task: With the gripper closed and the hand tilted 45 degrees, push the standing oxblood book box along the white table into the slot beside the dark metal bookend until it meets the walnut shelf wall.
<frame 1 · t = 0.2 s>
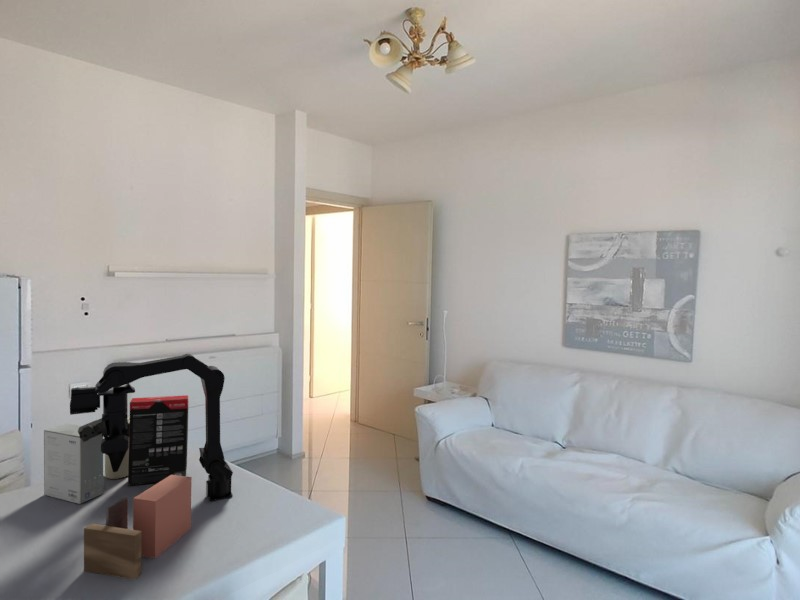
hand: (115, 465, 132), 14 cm above the table, tool pointing down, fingers open, 9 cm apart
travel mug: (119, 475, 159), on the table
shelf wall: (138, 561, 113), on the table
hard drive box: (73, 495, 144), on the table
book box: (163, 540, 122), on the table
bookend: (116, 560, 113), on the table
graphics card box: (158, 480, 156), on the table
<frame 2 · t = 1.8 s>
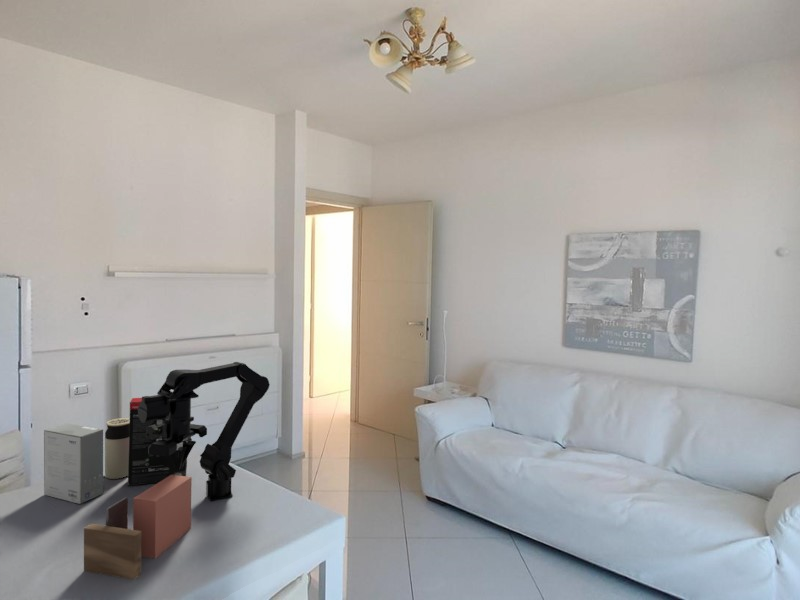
hand: (179, 468, 137), 12 cm above the table, tool pointing down, fingers closed
nothing on the table moved.
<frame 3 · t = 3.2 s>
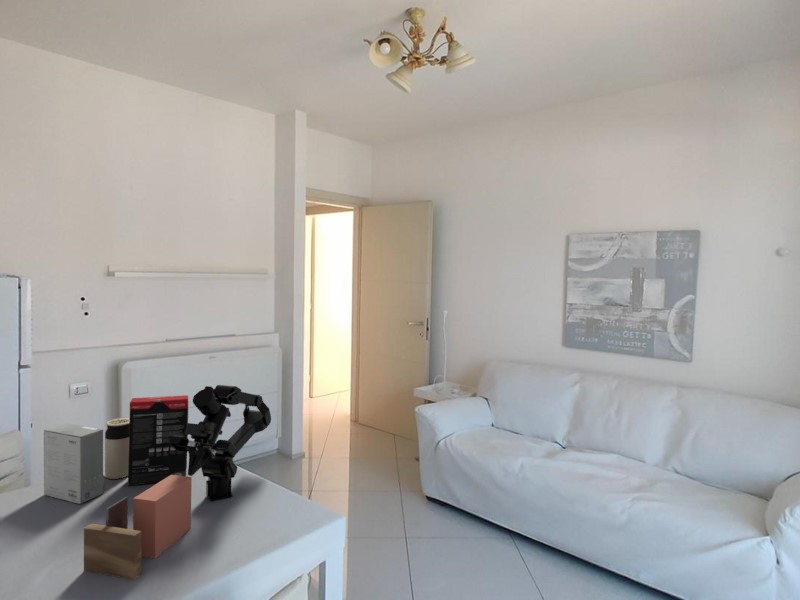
hand: (189, 475, 132), 12 cm above the table, tool tilted 45°, fingers closed
nothing on the table moved.
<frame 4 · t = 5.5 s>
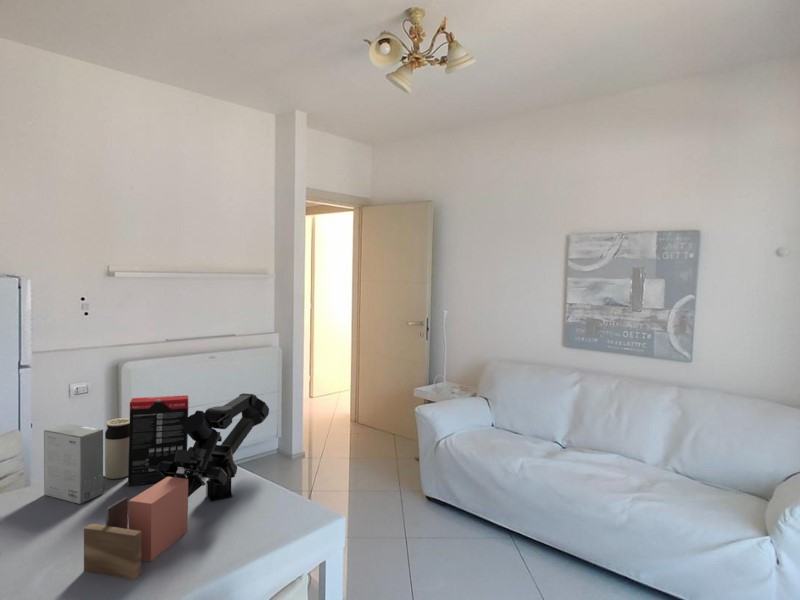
hand: (178, 504, 127), 7 cm above the table, tool tilted 45°, fingers closed, pressing on book box
book box: (159, 543, 120), on the table, touching gripper
everything else where it was.
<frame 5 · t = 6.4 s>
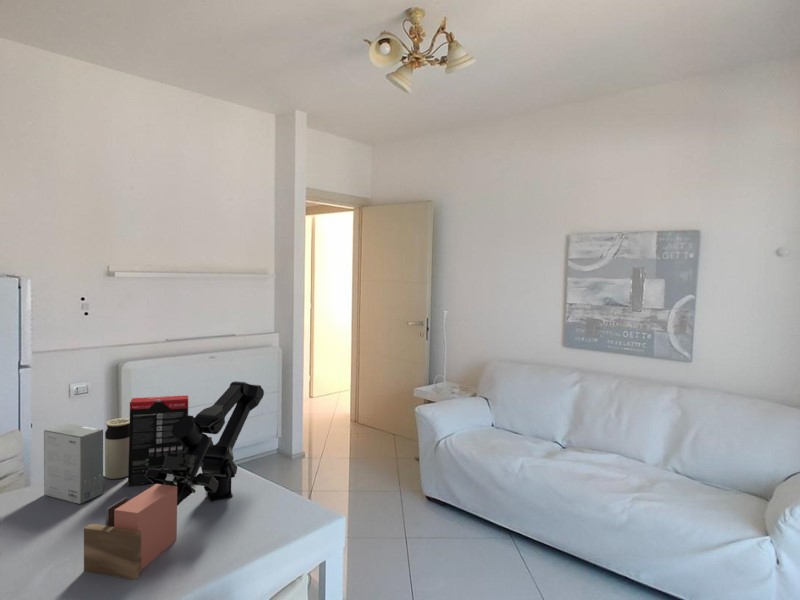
hand: (167, 512, 123), 7 cm above the table, tool tilted 45°, fingers closed, pressing on book box
book box: (147, 553, 116), on the table, touching gripper
everything else where it was.
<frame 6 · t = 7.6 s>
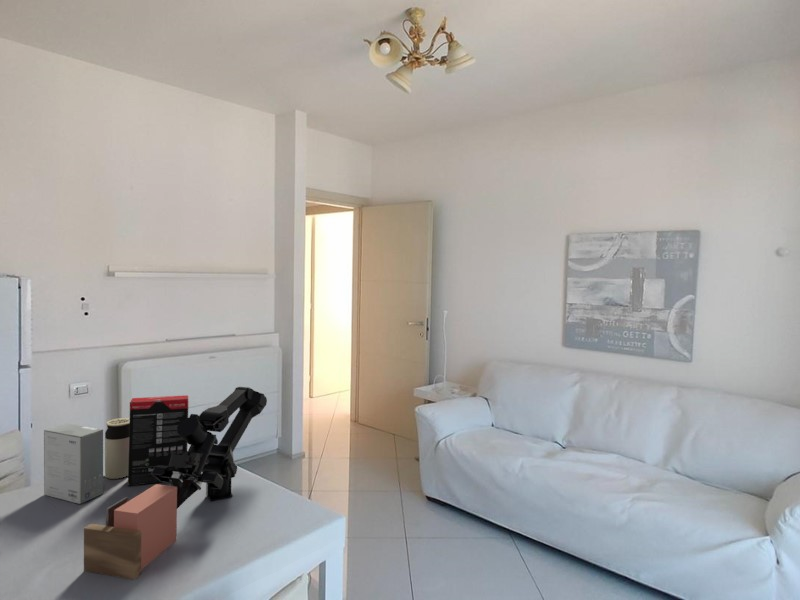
hand: (173, 509, 125), 6 cm above the table, tool tilted 45°, fingers closed
book box: (146, 554, 116), on the table, touching shelf wall
everything else where it was.
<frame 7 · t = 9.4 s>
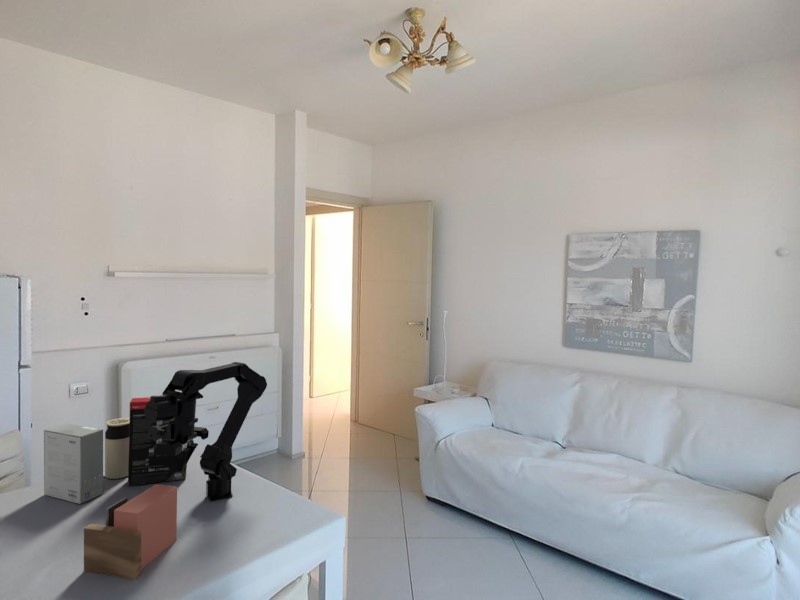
hand: (180, 470, 135), 12 cm above the table, tool pointing down, fingers closed
nothing on the table moved.
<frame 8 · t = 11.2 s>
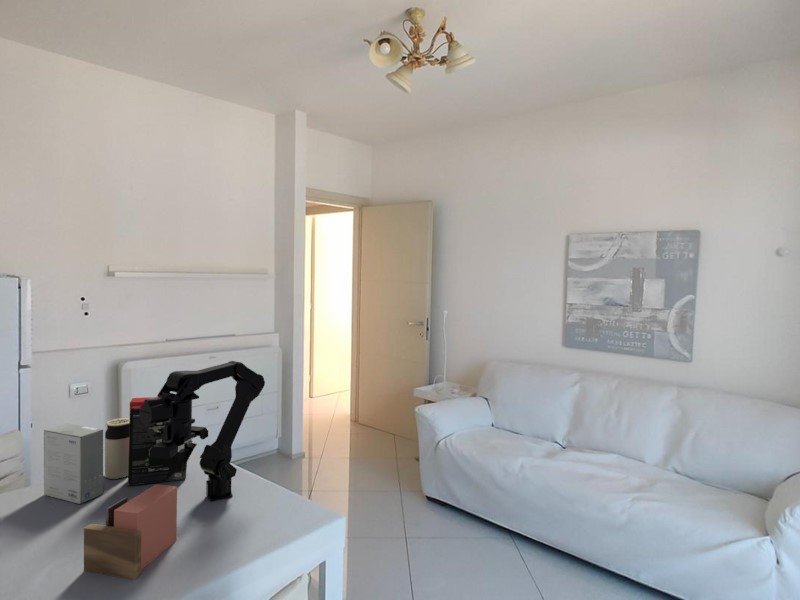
hand: (180, 471, 135), 12 cm above the table, tool pointing down, fingers closed
book box: (146, 554, 116), on the table
everything else where it was.
at the end: book box 0.3 cm from the target spot on the shelf wall, point 0.0 cm above the shelf wall's base; book box tilted 0°; book box moved 6.0 cm from its start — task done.
